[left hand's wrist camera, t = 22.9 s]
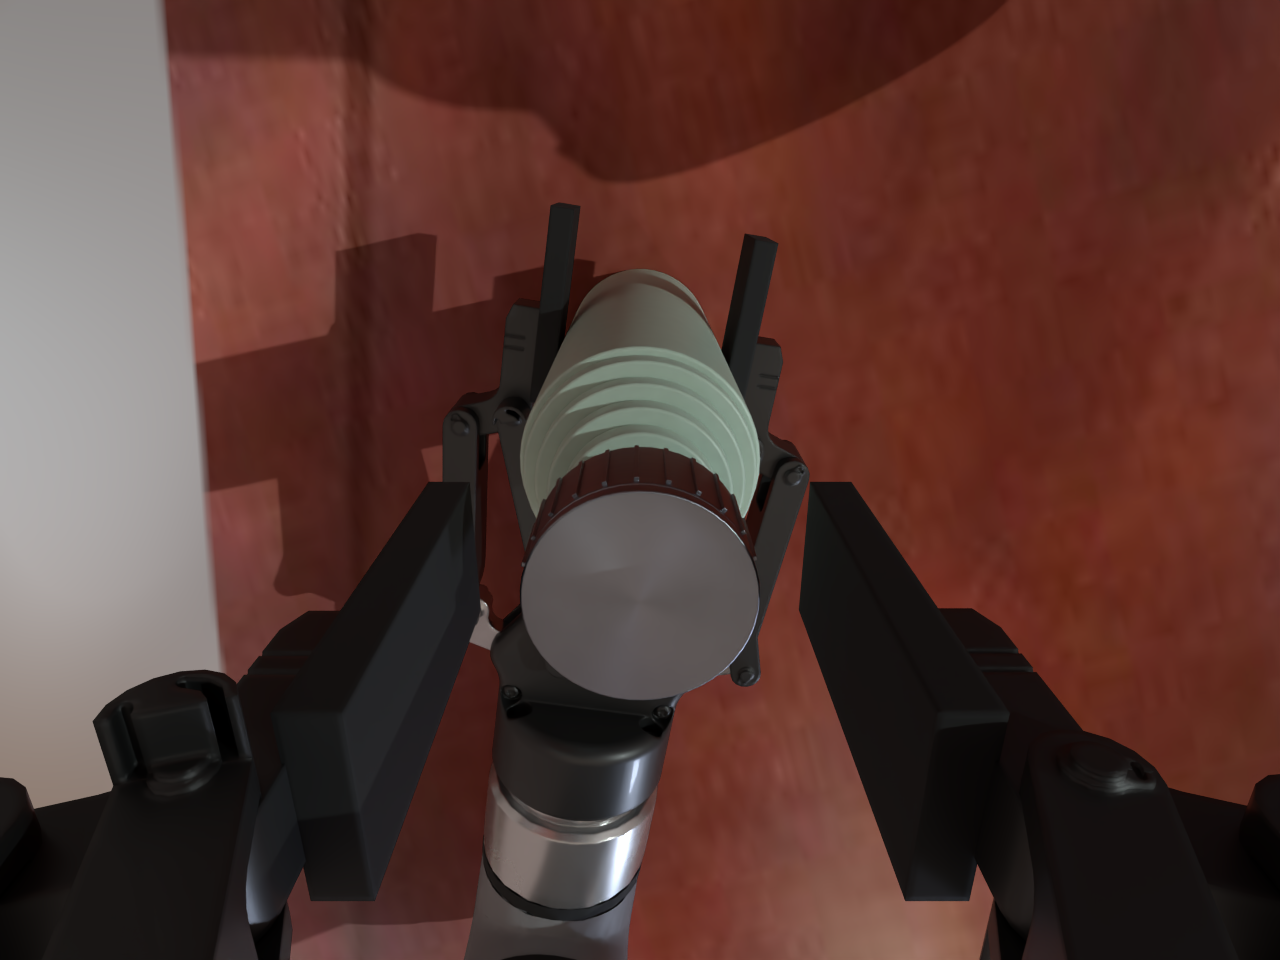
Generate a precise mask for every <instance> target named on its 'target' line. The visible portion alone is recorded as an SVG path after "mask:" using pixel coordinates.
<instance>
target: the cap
mask: <svg viewBox="0 0 1280 960" xmlns="http://www.w3.org/2000/svg"><path fill="white" fill-rule="evenodd" d="M756 560H757V556H756V553H755V550H754V546H753V543H752V540H751V536H750V533H749V530H748V527H747V523H746V520H745V517H744V518H742V517H741V513H740V510H739V507H738V503H737V500H736V496H735V495H734V494H730V492H729V491H728V490H727V488H726V487H725V485H724V484H723V483H722V482H721V481H720V479H719V475H718V474H716V473H715V474H713V473H712V472H711V471H709V470H708V469H707V468H705V467H704V466H703V465H701V464H699V463H698V462H696V459H695V458H693V457H692V458H688V457H686V456H684V455H681V454H679V453H676V452H672V451H669V450H668V448H664V449H659V448H653V447H639V445H634V447H628V448H620V449H616V450H611V451H610V449H608V450H605V452H604V453H602V454H599V455H596V456H594V457H592V458H590V459H588V460H586V461H583V460H582V461H580V462H579V464H578V466H576V467H575V468H573V469H572V470H571V471H569V472H568V473H567V474H566V475H565V476H564V477H563V478H561V477H559V478H558V479H557V482H556V486H555V487H554V488H553V489H552V491H551V492H550V494H549V496H548V497H547V499H543V500H542V502H541V505H540V509H539V512H538V515H537V519H536V522H535V523H534V524H533V528H532V531H531V534H530V537H529V541H528V544H527V547H526V551H525V554H524V557H523V560H522V564H521V566H523V567H524V570H523V573H522V577H521V585H520V606H521V612H522V617H523V620H524V623H525V626H526V629H527V632H528V634H529V636H530V638H531V640H532V642H533V644H534V645H535V647H536V648H537V650H538V651H539V652H540V654H541V655H542V656H543V658H544V659H545V660H546V661H547V662H548V663H549V664H550V665H551V666H552V667H553V668H554V669H555V670H557V671H558V672H559V673H560V674H561V675H563V676H564V677H566V678H567V679H569V680H570V681H572V682H573V683H575V684H577V685H579V686H581V687H583V688H585V689H587V690H590V691H592V692H595V693H598V694H601V695H605V696H609V697H613V698H619V699H626V700H654V699H662V698H667V697H672V696H676V695H679V694H682V693H685V692H688V691H690V690H693V689H695V688H697V687H700V686H701V685H703V684H705V683H707V682H708V681H710V680H712V679H713V678H715V677H716V676H717V675H719V674H720V673H721V672H723V671H724V670H725V669H726V668H727V667H728V666H729V665H730V664H731V663H732V662H733V661H734V660H735V659H736V658H737V656H738V655H739V654H740V653H741V651H742V650H743V648H744V647H745V645H746V643H747V642H748V640H749V638H750V636H751V634H752V632H753V629H754V627H755V624H756V620H757V617H758V613H759V605H760V581H759V577H758V573H757V569H756V565H755V562H754V561H756Z"/></svg>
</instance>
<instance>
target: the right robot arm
mask: <svg viewBox="0 0 1280 960" xmlns="http://www.w3.org/2000/svg"><path fill="white" fill-rule="evenodd" d="M579 214H580V206H577V205H571V204H565V203H556V204H553V205H551V207H550V216H549V226H548V235H547V244H546V253H545V262H544V272H543V281H542V290H541V299H540V301H534V300H528V299H522V298H519V299H518V300H517V301H516V302H515V303H514V304H513V306H512V308H511V310H510V312H509V314H508V315H507V317H506V325H505V336H504V348H503V357H502V368H501V379H500V386H499V388H497V389H496V390H493V391H490V392H484V393H479V394H478V393H475V392H471V393H466V394H465V395H463V396H462V397H461V398H460V399H459V400H458V402H457V403H456V404H455V405H454V407H453V408H452V409H451V410H450V412H449V413H448V414H447V416H446V417H445V418H444V422H443V482H470V490H471V501H472V513H473V524H474V536H475V547H476V558H477V570H478V581H479V584H480V581H481V578H482V576H483V571H484V567H485V556H486V517H487V478H488V439H489V434H491V433H496V432H498V433H499V438H500V442H501V447H502V451H503V456H504V460H505V465H506V469H507V474H508V478H509V483H510V487H511V491H512V496H513V500H514V505H515V509H516V514H517V518H518V523H519V527H520V532H521V536H522V541H523V545H524V550H525V551H526V547H527V544H528V541H529V537H530V534H531V531H532V528H533V524H534V523H535V522H536V517H535V515H534V513H533V511H532V509H531V506H530V503H529V500H528V498H527V495H526V492H525V489H524V486H523V481H522V475H521V468H520V450H521V441H522V436H523V432H524V428H525V425H526V422H527V420H528V417H529V415H530V412H531V410H532V408H533V406H534V403H535V401H536V399H537V397H538V395H539V393H540V390H541V388H542V386H543V384H544V382H545V380H546V377H547V375H548V373H549V371H550V369H551V367H552V364H553V362H554V360H555V358H556V356H557V354H558V351H559V349H560V347H561V345H562V343H563V341H564V336H565V328H566V320H567V312H568V304H569V295H570V287H571V279H572V271H573V263H574V255H575V246H576V238H577V230H578V222H579ZM777 247H778V243H776V242H774V241H772V240H770V239H768V238H766V237H762V236H756V235H750V234H745V235H744V240H743V245H742V250H741V255H740V260H739V265H738V270H737V275H736V280H735V285H734V290H733V295H732V300H731V305H730V310H729V315H728V320H727V325H726V330H725V335H724V340H723V345H722V350H721V351H722V354H723V356H724V358H725V360H726V362H727V364H728V367H729V369H730V371H731V373H732V375H733V377H734V380H735V382H736V384H737V386H738V388H739V390H740V393H741V395H742V397H743V399H744V401H745V403H746V406H747V408H748V410H749V412H750V414H751V417H752V420H753V422H754V425H755V428H756V431H757V436H758V441H759V450H760V467H759V473H760V475H759V479H758V482H757V485H756V489H755V492H754V495H753V499H752V502H751V505H750V509H749V512H748V516H747V519H746V523H747V527H748V530H749V533H750V536H751V540H752V543H753V546H754V550H755V553H756V556H757V560H756V561H754V562H755V565H756V569H757V573H758V577H759V581H760V605H759V613H758V617H757V620H756V624H755V627H754V629H753V632H752V634H751V636H750V638H749V640H748V642H747V643H746V645H745V647H744V648H743V650H742V651H741V653H740V654H739V655H738V656H737V658H736V659H735V660H734V661H733V662H732V663H731V664H730V665H729V666H728V667H727V668H726V669H725V670H724V671H723V672H721V673H720V674H719V675H726V674H731V678H732V681H733V682H734V683H735V684H737V685H739V686H744V687H747V686H751V685H753V684H755V683H756V682H757V681H758V680H759V678H760V674H761V671H760V660H759V649H758V635H759V632H760V628H761V625H762V622H763V619H764V616H765V613H766V610H767V607H768V604H769V601H770V598H771V595H772V592H773V589H774V585H775V582H776V579H777V576H778V573H779V570H780V567H781V564H782V561H783V558H784V555H785V552H786V549H787V546H788V542H789V539H790V536H791V533H792V530H793V527H794V524H795V521H796V518H797V515H798V512H799V509H800V506H801V503H802V499H803V496H804V493H805V490H806V487H807V484H808V481H809V471H808V468H807V466H806V465H805V463H804V461H803V459H802V458H801V456H800V454H799V452H798V451H797V449H796V447H795V446H794V445H793V444H792V443H791V442H789V441H787V440H781V439H779V438H777V437H776V436H774V435H772V434H771V433H769V432H768V425H769V420H770V416H771V412H772V407H773V403H774V399H775V394H776V389H777V386H778V381H779V377H780V373H781V368H782V364H783V359H782V353H781V347H780V346H779V344H778V343H777V342H776V341H775V340H774V339H771V338H765V337H759V336H758V335H759V330H760V326H761V321H762V317H763V312H764V307H765V303H766V298H767V294H768V289H769V284H770V280H771V275H772V270H773V266H774V261H775V257H776V252H777ZM479 592H480V604H481V611H480V614H479V617H478V619H477V622H476V625H475V628H474V630H473V633H472V636H471V639H470V641H469V642H471V643H473V644H476V645H478V646H481V647H483V648H486V649H489V650H490V655H491V660H492V662H493V664H494V666H495V668H496V670H497V672H498V675H499V680H500V685H499V694H498V703H497V712H496V721H495V731H494V740H493V749H492V758H493V762H492V765H491V769H490V774H489V784H488V794H487V804H486V814H485V824H484V836H483V854H482V861H481V868H480V875H479V882H478V888H477V895H476V903H475V909H474V915H473V921H472V926H471V931H470V935H469V940H468V944H467V949H466V953H465V958H464V960H627V949H628V934H629V925H630V918H631V912H632V907H633V901H634V895H635V889H636V883H637V878H638V874H639V871H640V867H641V862H642V858H643V855H644V852H645V848H646V843H647V839H648V834H649V830H650V825H651V820H652V816H653V811H654V807H655V802H656V796H657V788H658V782H659V780H660V777H661V772H662V768H663V763H664V758H665V754H666V749H667V744H668V740H669V735H670V730H671V726H672V721H673V717H674V712H675V708H676V705H677V703H678V701H679V699H680V698H681V696H682V695H683V694H684V693H682V694H679V695H676V696H672V697H667V698H662V699H654V700H626V699H619V698H613V697H609V696H605V695H601V694H598V693H595V692H592V691H590V690H587V689H585V688H583V687H581V686H579V685H577V684H575V683H573V682H572V681H570V680H569V679H567V678H566V677H564V676H563V675H561V674H560V673H559V672H558V671H557V670H555V669H554V668H553V667H552V666H551V665H550V664H549V663H548V662H547V661H546V660H545V659H544V658H543V656H542V655H541V654H540V652H539V651H538V650H537V648H536V647H535V645H534V644H533V642H532V640H531V638H530V636H529V634H528V632H527V629H526V626H525V623H524V620H523V617H522V612H521V606H520V604H519V605H518V606H517V607H516V608H515V609H514V610H513V611H512V612H511V613H509V614H508V615H507V616H506V617H505V618H504V619H503V620H502V619H500V618H498V617H497V616H496V615H495V614H494V612H493V609H492V604H493V597H492V595H491V593H490V592H489V589H488V588H487V587H486V586H485V585H479Z"/></svg>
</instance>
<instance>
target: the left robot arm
mask: <svg viewBox="0 0 1280 960" xmlns="http://www.w3.org/2000/svg"><path fill="white" fill-rule="evenodd" d="M480 611H481V604H480V592H479V581H478V570H477V558H476V547H475V536H474V524H473V513H472V501H471V490H470V482H428V484H427V485H426V487H425V488H424V490H423V491H422V493H421V494H420V496H419V497H418V498H417V500H416V501H415V503H414V504H413V506H412V507H411V509H410V510H409V512H408V513H407V514H406V516H405V517H404V519H403V520H402V522H401V523H400V525H399V526H398V528H397V529H396V530H395V532H394V533H393V535H392V536H391V538H390V539H389V541H388V542H387V544H386V545H385V546H384V548H383V549H382V551H381V552H380V554H379V555H378V557H377V558H376V560H375V561H374V562H373V564H372V565H371V567H370V568H369V570H368V571H367V573H366V574H365V576H364V577H363V578H362V580H361V581H360V583H359V584H358V586H357V587H356V589H355V590H354V592H353V593H352V594H351V596H350V597H349V599H348V600H347V602H346V603H345V605H344V606H343V608H342V609H341V610H340V611H308V612H306V613H305V614H303V615H301V616H300V617H298V618H297V619H295V620H294V621H292V622H291V623H289V624H288V625H286V626H285V627H283V628H282V629H280V630H279V631H278V633H277V634H276V635H275V636H274V638H273V639H272V640H271V642H270V643H269V644H268V645H267V647H266V648H265V649H264V650H263V652H262V656H259V657H258V658H257V659H256V661H255V662H254V663H253V664H252V666H251V667H250V668H249V669H248V674H247V675H244V676H243V677H242V678H241V679H240V681H239V682H238V683H237V685H236V682H235V681H234V680H232V679H231V678H230V677H228V676H227V675H226V674H225V673H220V672H214V671H209V670H194V671H181V672H176V673H173V674H169V675H165V676H161V677H157V678H153V679H151V680H149V681H147V682H144V683H142V684H140V685H138V686H135V687H133V688H131V689H129V690H127V691H125V692H124V693H123V694H121V695H120V696H118V697H117V698H115V699H114V700H112V701H111V702H110V703H108V704H107V705H105V707H104V708H103V709H102V710H101V712H100V713H99V714H98V715H97V717H96V718H95V719H94V720H93V724H94V727H95V730H96V733H97V737H98V740H99V743H100V746H101V749H102V752H103V755H104V758H105V761H106V764H107V767H108V771H109V773H110V777H111V780H112V783H113V788H112V790H111V791H110V792H106V793H103V794H99V795H95V796H91V797H86V798H82V799H77V800H72V801H68V802H63V803H59V804H54V805H50V806H45V807H41V808H36V809H34V808H33V805H32V803H31V800H30V798H29V795H28V792H27V790H26V787H24V786H23V785H22V784H20V783H19V782H17V781H16V780H14V779H12V778H1V777H0V960H290V951H291V940H292V924H291V917H290V912H289V908H288V903H287V899H288V897H289V895H290V893H291V891H292V889H293V886H294V884H295V882H296V880H297V878H298V876H299V874H300V872H301V870H302V868H303V867H304V872H305V876H306V881H307V885H308V890H309V895H310V899H311V901H375V899H376V896H377V893H378V891H379V888H380V885H381V882H382V880H383V877H384V874H385V871H386V869H387V866H388V863H389V860H390V858H391V855H392V852H393V849H394V847H395V844H396V841H397V839H398V836H399V833H400V830H401V828H402V825H403V822H404V819H405V817H406V814H407V811H408V808H409V806H410V803H411V800H412V797H413V795H414V792H415V789H416V787H417V784H418V781H419V778H420V776H421V773H422V770H423V767H424V765H425V762H426V759H427V756H428V754H429V751H430V748H431V745H432V743H433V740H434V737H435V734H436V732H437V729H438V726H439V724H440V721H441V718H442V715H443V713H444V710H445V707H446V704H447V702H448V699H449V696H450V693H451V691H452V688H453V685H454V682H455V680H456V677H457V674H458V672H459V669H460V666H461V663H462V661H463V658H464V655H465V652H466V650H467V647H468V644H469V641H470V639H471V636H472V633H473V630H474V628H475V625H476V622H477V619H478V617H479V614H480ZM799 611H800V614H801V617H802V620H803V622H804V625H805V628H806V630H807V633H808V636H809V639H810V641H811V644H812V647H813V650H814V652H815V655H816V658H817V661H818V663H819V666H820V669H821V672H822V674H823V677H824V680H825V682H826V685H827V688H828V691H829V693H830V696H831V699H832V702H833V704H834V707H835V710H836V713H837V715H838V718H839V721H840V724H841V726H842V729H843V732H844V735H845V737H846V740H847V743H848V745H849V748H850V751H851V754H852V756H853V759H854V762H855V765H856V767H857V770H858V773H859V776H860V778H861V781H862V784H863V787H864V789H865V792H866V795H867V797H868V800H869V803H870V806H871V808H872V811H873V814H874V817H875V819H876V822H877V825H878V828H879V830H880V833H881V836H882V839H883V841H884V844H885V847H886V850H887V852H888V855H889V858H890V860H891V863H892V866H893V869H894V871H895V874H896V877H897V880H898V882H899V885H900V888H901V891H902V893H903V896H904V899H905V901H969V899H970V895H971V890H972V885H973V881H974V876H975V872H976V867H977V864H978V866H979V868H980V870H981V872H982V874H983V876H984V878H985V881H986V883H987V885H988V887H989V889H990V891H991V893H992V895H993V897H994V899H993V903H992V908H991V912H990V916H989V921H988V925H987V929H986V933H985V938H984V942H983V946H982V951H981V955H980V959H979V960H1280V774H1277V775H1268V776H1266V777H1265V778H1264V779H1262V780H1261V781H1259V782H1258V783H1256V784H1255V787H1254V790H1253V792H1252V795H1251V797H1250V800H1249V803H1248V805H1247V806H1245V805H1241V804H1236V803H1232V802H1227V801H1223V800H1218V799H1213V798H1209V797H1204V796H1200V795H1195V794H1191V793H1186V792H1182V791H1178V790H1175V789H1171V788H1168V786H1167V784H1166V783H1165V781H1164V780H1163V779H1162V777H1161V776H1160V774H1159V773H1158V771H1157V770H1156V769H1155V767H1154V766H1152V765H1151V764H1150V763H1149V762H1147V761H1146V760H1145V759H1144V758H1142V757H1141V756H1140V755H1139V754H1137V753H1136V752H1135V751H1133V750H1131V749H1129V748H1127V747H1125V746H1123V745H1121V744H1119V743H1117V742H1115V741H1113V740H1111V739H1109V738H1106V737H1102V736H1099V735H1096V734H1092V733H1089V732H1085V731H1083V730H1082V729H1081V728H1080V726H1079V725H1078V724H1077V722H1076V721H1075V720H1074V719H1073V717H1072V716H1071V715H1070V714H1069V712H1068V711H1067V710H1066V709H1065V707H1064V706H1063V705H1062V704H1061V702H1060V701H1059V700H1058V699H1057V697H1056V696H1055V695H1054V694H1053V692H1052V691H1051V690H1050V689H1049V687H1048V686H1047V685H1046V684H1045V682H1044V681H1043V680H1042V679H1041V677H1040V676H1039V675H1038V674H1037V672H1033V667H1032V666H1031V665H1030V663H1029V662H1028V661H1027V660H1026V658H1025V657H1024V656H1023V655H1022V654H1019V653H1018V648H1017V647H1016V646H1015V645H1014V643H1013V642H1012V641H1011V640H1010V638H1009V637H1008V636H1007V635H1006V633H1005V632H1004V631H1003V630H1002V628H1001V627H999V626H998V625H996V624H995V623H993V622H992V621H990V620H989V619H987V618H986V617H984V616H983V615H981V614H980V613H978V612H977V611H975V610H973V609H972V608H937V606H936V605H935V603H934V602H933V600H932V599H931V597H930V596H929V594H928V593H927V592H926V590H925V589H924V587H923V586H922V584H921V583H920V581H919V580H918V578H917V577H916V576H915V574H914V573H913V571H912V570H911V568H910V567H909V565H908V564H907V562H906V561H905V560H904V558H903V557H902V555H901V554H900V552H899V551H898V549H897V548H896V546H895V545H894V544H893V542H892V541H891V539H890V538H889V536H888V535H887V533H886V532H885V530H884V529H883V528H882V526H881V525H880V523H879V522H878V520H877V519H876V517H875V516H874V514H873V513H872V512H871V510H870V509H869V507H868V506H867V504H866V503H865V501H864V500H863V498H862V497H861V496H860V494H859V493H858V491H857V490H856V488H855V487H854V485H853V484H852V482H810V490H809V501H808V513H807V524H806V536H805V547H804V558H803V570H802V581H801V592H800V604H799Z"/></svg>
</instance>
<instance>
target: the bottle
mask: <svg viewBox="0 0 1280 960" xmlns="http://www.w3.org/2000/svg"><path fill="white" fill-rule="evenodd" d="M634 445H639V447H653V448H659V449H664V448H668V450H669V451H672V452H676V453H679V454H681V455H684V456H686V457H688V458H692V457H693V458H695V459H696V462H698V463H699V464H701V465H703V466H704V467H705V468H707V469H708V470H709V471H711V472H712V473H713V474H715V473H716V474H718V475H719V479H720V481H721V482H722V483H723V484H724V485H725V487H726V488H727V490H728V491H729V492H730V494H734V495H735V496H736V500H737V503H738V507H739V510H740V513H741V517H742V518H744V517H745V515H746V513H747V511H748V509H749V506H750V503H751V500H752V498H753V495H754V492H755V489H756V485H757V481H758V476H759V467H760V450H759V441H758V436H757V431H756V428H755V425H754V422H753V420H752V417H751V414H750V412H749V410H748V408H747V406H746V403H745V401H744V399H743V397H742V395H741V393H740V390H739V388H738V386H737V384H736V382H735V380H734V377H733V375H732V373H731V371H730V369H729V367H728V364H727V362H726V360H725V358H724V356H723V354H722V351H721V349H720V347H719V345H718V343H717V341H716V338H715V336H714V334H713V332H712V330H711V328H710V325H709V323H708V321H707V319H706V317H705V315H704V312H703V310H702V308H701V306H700V304H699V302H698V301H697V299H696V298H695V297H694V295H693V294H692V293H691V292H690V291H689V289H688V288H687V287H685V286H684V285H683V284H682V283H681V282H679V281H678V280H676V279H674V278H673V277H671V276H669V275H667V274H664V273H661V272H658V271H654V270H648V269H633V270H626V271H622V272H618V273H616V274H613V275H611V276H609V277H607V278H606V279H604V280H602V281H601V282H600V283H598V284H597V285H596V286H594V287H593V288H592V290H591V291H590V292H589V293H588V294H587V295H586V297H585V298H584V299H583V301H582V303H581V304H580V306H579V308H578V310H577V312H576V315H575V317H574V319H573V321H572V323H571V325H570V328H569V330H568V332H567V334H566V336H565V338H564V341H563V343H562V345H561V347H560V349H559V351H558V354H557V356H556V358H555V360H554V362H553V364H552V367H551V369H550V371H549V373H548V375H547V377H546V380H545V382H544V384H543V386H542V388H541V390H540V393H539V395H538V397H537V399H536V401H535V403H534V406H533V408H532V410H531V412H530V415H529V417H528V420H527V422H526V425H525V428H524V432H523V436H522V441H521V450H520V468H521V475H522V481H523V486H524V489H525V492H526V495H527V498H528V500H529V503H530V506H531V509H532V511H533V513H534V515H535V517H536V519H537V515H538V512H539V509H540V505H541V502H542V500H543V499H547V497H548V496H549V494H550V492H551V491H552V489H553V488H554V487H555V486H556V482H557V479H558V478H559V477H561V478H563V477H564V476H565V475H566V474H567V473H568V472H569V471H571V470H572V469H573V468H575V467H576V466H578V464H579V462H580V461H582V460H583V461H586V460H588V459H590V458H592V457H594V456H596V455H599V454H602V453H604V452H605V450H608V449H610V451H611V450H616V449H620V448H628V447H634Z"/></svg>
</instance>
